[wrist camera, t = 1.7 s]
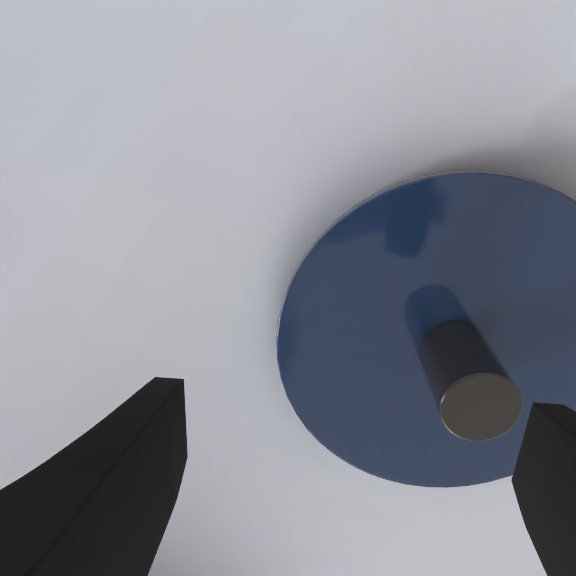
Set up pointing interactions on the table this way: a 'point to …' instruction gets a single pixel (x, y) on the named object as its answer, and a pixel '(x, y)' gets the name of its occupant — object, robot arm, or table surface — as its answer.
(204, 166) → the table surface
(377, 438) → the lid
